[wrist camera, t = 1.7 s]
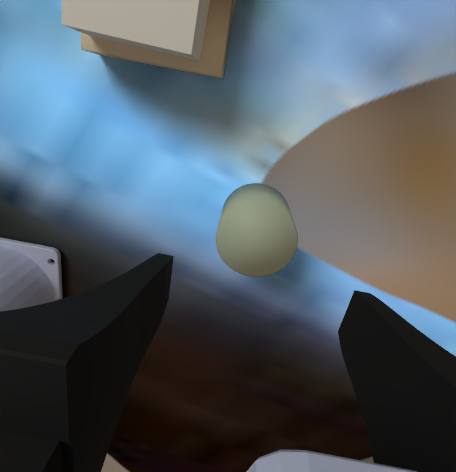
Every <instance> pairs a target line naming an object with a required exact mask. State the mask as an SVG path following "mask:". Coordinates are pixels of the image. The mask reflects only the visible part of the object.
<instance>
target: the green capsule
mask: <svg viewBox="0 0 456 472" xmlns="http://www.w3.org/2000/svg"><path fill="white" fill-rule="evenodd" d="M297 243H298V236H297V230H296V227H295V224H294V221H293V218H292V215H291V212H290V209H289V206H288V204H287V202H286V200H285V198H284V197H283V195H282V194H281V193H280V192H279V191H278V190H276V189H275V188H273V187H271V186H269V185H266V184H260V183H253V184H247V185H244V186H241V187H239V188H238V189H236V190H235V191H233V192H232V193H231V194H230V196H229V197H228V198H227V200H226V202H225V204H224V206H223V210H222V214H221V218H220V222H219V225H218V229H217V233H216V246H217V250H218V253H219V255H220V257H221V258H222V260H223V261H224V262H225V264H226V265H227V266H229V267H230V268H231V269H233V270H234V271H236V272H238V273H240V274H243V275H246V276H253V277H260V276H267V275H270V274H273V273H275V272H278V271H279V270H281V269H282V268H284V267H285V266H286V265H287V264H288V263H289V262H290V260H291V259H292V258H293V256H294V254H295V251H296V248H297Z"/></svg>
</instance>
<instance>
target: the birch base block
mask: <svg viewBox="0 0 456 472" xmlns="http://www.w3.org/2000/svg"><path fill="white" fill-rule="evenodd" d="M234 7H235V0H210V4H209V10H208V17H207V23H206V29H205V36H204V42H203V49H202V55H201V61H196V60H192V59H188V58H183V57H179V56H175V55H171V54H166V53H162V52H158V51H153V50H149V49H145V48H140V47H136V46H132V45H128V44H123V43H119V42H115V41H110V40H106V39H102V38H98V37H93V36H90V35H87V34H84V33H82V32H81V49H82V50H85V51H88V52H92V53H95V54H98V55H103V56H108V57H113V58H118V59H123V60H128V61H133V62H139V63H144V64H149V65H154V66H159V67H164V68H169V69H174V70H179V71H185V72H190V73H195V74H200V75H205V76H210V77H215V78H220V79H223V78H224V72H225V65H226V59H227V52H228V46H229V39H230V33H231V26H232V20H233V13H234Z"/></svg>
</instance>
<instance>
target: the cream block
mask: <svg viewBox="0 0 456 472" xmlns="http://www.w3.org/2000/svg"><path fill="white" fill-rule="evenodd" d="M209 4H210V0H62V25H64V26H67V27H69V28H72V29H74V30H77V31H79V32H82V33H84V34H87V35H90V36H93V37H98V38H102V39H106V40H110V41H115V42H119V43H123V44H128V45H132V46H136V47H140V48H145V49H149V50H153V51H158V52H162V53H166V54H171V55H175V56H179V57H183V58H188V59H192V60H196V61H201V55H202V49H203V42H204V36H205V29H206V23H207V17H208V10H209Z"/></svg>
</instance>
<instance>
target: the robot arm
mask: <svg viewBox="0 0 456 472" xmlns="http://www.w3.org/2000/svg"><path fill="white" fill-rule="evenodd" d="M51 259H53V260H54V262H55V263H54V262H52V261H51ZM172 265H173V256H170V255H165V254H160V253H158V254H156V255H154V256H153V257H151V258H149V259H148V260H146V261H145V262H143V263H141V264H140V265H138V266H136V267H135V268H133V269H131V270H130V271H128V272H126V273H124V274H122V275H120V276H118V277H116V278H114V279H113V280H111V281H109V282H107V283H104V284H102V285H100V286H97V287H95V288H92V289H90V290H87V291H85V292H82V293H79V294H76V295H72V296H69V297H66V298H63V297H62V275H61V255H60V252H59V251H58V250H57V249H56V248H53V247H48V246H43V245H37V244H32V243H27V242H21V241H16V240H11V239H5V238H0V472H101V469H102V466H103V463H104V460H105V457H106V455H107V452H108V449H109V446H110V443H111V440H112V437H113V434H114V431H115V428H116V425H117V423H118V420H119V417H120V414H121V411H122V409H123V406H124V403H125V400H126V398H127V395H128V392H129V389H130V387H131V384H132V381H133V379H134V376H135V374H136V372H137V369H138V367H139V365H140V363H141V361H142V359H143V357H144V355H145V353H146V351H147V349H148V347H149V345H150V343H151V341H152V339H153V337H154V335H155V333H156V330H157V328H158V326H159V324H160V322H161V320H162V317H163V314H164V311H165V308H166V305H167V302H168V299H169V290H170V282H171V273H172ZM338 333H339V340H340V345H341V350H342V355H343V358H344V361H345V364H346V367H347V370H348V373H349V376H350V379H351V382H352V385H353V387H354V390H355V393H356V396H357V399H358V402H359V405H360V408H361V411H362V414H363V418H364V421H365V425H366V429H367V433H368V438H369V442H370V446H371V451H372V456H373V460H374V463H370V462H365V461H360V460H354V459H349V458H344V457H338V456H333V455H328V454H322V453H317V452H312V451H306V450H279V451H276V452H273V453H270V454H268V455H265V456H262V457H260V458H258V459H257V460H256V461H255V462H254V464H253V465H252V466H251V467H250V468H249V470H248V471H247V472H456V356H454V355H452V354H451V353H449V352H448V351H446V350H445V349H443V348H442V347H441V346H439V345H438V344H436V343H435V342H434V341H432V340H431V339H430V338H428V337H427V336H425V335H424V334H423V333H421V332H420V331H419V330H417V329H416V328H415V327H414V326H412V325H411V324H410V323H408V322H407V321H406V320H405V319H403V318H402V317H401V316H400V315H398V314H397V313H396V312H395V311H393V310H392V309H391V308H390V307H388V306H387V305H386V304H385V303H383V302H382V301H381V300H379V299H378V298H376V297H375V296H373V295H372V294H370V293H365V292H360V291H354V293H353V296H352V298H351V301H350V303H349V306H348V308H347V311H346V313H345V316H344V318H343V321H342V323H341V325H340V328H339V330H338Z"/></svg>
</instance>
